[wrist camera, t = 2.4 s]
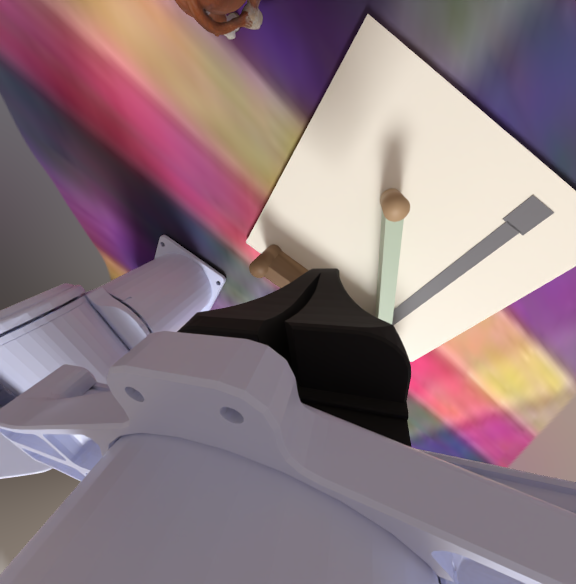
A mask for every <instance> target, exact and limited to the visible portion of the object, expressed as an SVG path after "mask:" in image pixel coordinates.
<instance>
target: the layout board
mask: <svg viewBox="0 0 576 584" xmlns="http://www.w3.org/2000/svg"><path fill="white" fill-rule="evenodd" d="M390 188H395V189H397V190H399V191H400V192H401V193H402V195H403V196H404V197H405V198H406V199H407V200H408V201H409V203H410V211H409V213H408V215H407V216H406V217H405V218H404V222H403V231H402V240H401V249H400V258H399V267H398V276H397V285H396V294H395V303H394V312H393V321H392V325H393V326H394V327H395V329H396V331H397V333H398V334H399V336H400V338H401V340H402V343H403V345H404V347H405V350H406V352H407V355H408V358H409V361H411V362H413V361H414V360H416V359H418V358H420V357H421V356H423V355H425V354H426V353H428V352H430V351H432V350H433V349H435V348H437V347H438V346H440V345H442V344H443V343H445V342H447V341H449V340H450V339H452V338H454V337H455V336H457V335H459V334H461V333H462V332H464V331H466V330H467V329H469V328H471V327H473V326H474V325H476V324H478V323H479V322H481V321H483V320H484V319H486V318H488V317H490V316H491V315H493V314H495V313H496V312H498V311H500V310H502V309H503V308H505V307H507V306H508V305H510V304H512V303H514V302H515V301H517V300H519V299H520V298H522V297H524V296H525V295H527V294H529V293H531V292H532V291H534V290H536V289H537V288H539V287H541V286H543V285H544V284H546V283H548V282H549V281H551V280H553V279H554V278H556V277H558V276H560V275H561V274H563V273H565V272H566V271H568V270H570V269H572V268H573V267H575V266H576V191H575V190H574V189H573V188H572V187H571V186H569V185H568V184H567V183H566V182H565V181H564V180H562V179H561V178H560V177H559V176H558V175H557V174H555V173H554V172H553V171H552V170H551V169H549V168H548V167H547V166H546V165H545V164H544V163H542V162H541V161H540V160H539V159H538V158H537V157H535V156H534V155H533V154H532V153H531V152H530V151H528V150H527V149H526V148H525V147H524V146H523V145H521V144H520V143H519V142H518V141H517V140H515V139H514V138H513V137H512V136H511V135H510V134H508V133H507V132H506V131H505V130H504V129H503V128H501V127H500V126H499V125H498V124H497V123H496V122H494V121H493V120H492V119H491V118H490V117H489V116H487V115H486V114H485V113H484V112H483V111H481V110H480V109H479V108H478V107H477V106H476V105H474V104H473V103H472V102H471V101H470V100H469V99H467V98H466V97H465V96H464V95H463V94H462V93H460V92H459V91H458V90H457V89H456V88H455V87H453V86H452V85H451V84H450V83H449V82H448V81H446V80H445V79H444V78H443V77H442V76H440V75H439V74H438V73H437V72H436V71H435V70H433V69H432V68H431V67H430V66H429V65H428V64H426V63H425V62H424V61H423V60H422V59H421V58H419V57H418V56H417V55H416V54H415V53H414V52H412V51H411V50H410V49H409V48H408V47H406V46H405V45H404V44H403V43H402V42H401V41H399V40H398V39H397V38H396V37H395V36H394V35H392V34H391V33H390V32H389V31H388V30H387V29H385V28H384V27H383V26H382V25H381V24H380V23H378V22H377V21H376V20H375V19H374V18H372V17H371V16H370V15H369V14H367V16H366V18H365V20H364V22H363V24H362V25H361V27H360V29H359V31H358V33H357V35H356V37H355V39H354V40H353V42H352V44H351V46H350V48H349V50H348V52H347V54H346V55H345V57H344V59H343V61H342V63H341V65H340V67H339V69H338V70H337V72H336V74H335V76H334V78H333V80H332V82H331V84H330V85H329V87H328V89H327V91H326V93H325V95H324V97H323V98H322V100H321V102H320V104H319V106H318V108H317V110H316V112H315V113H314V115H313V117H312V119H311V121H310V123H309V125H308V127H307V128H306V130H305V132H304V134H303V136H302V138H301V140H300V142H299V143H298V145H297V147H296V149H295V151H294V153H293V155H292V157H291V158H290V160H289V162H288V164H287V166H286V168H285V170H284V172H283V173H282V175H281V177H280V179H279V181H278V183H277V185H276V187H275V188H274V190H273V192H272V194H271V196H270V198H269V200H268V202H267V203H266V205H265V207H264V209H263V211H262V213H261V215H260V217H259V218H258V220H257V222H256V224H255V226H254V228H253V230H252V231H251V233H250V235H249V237H248V239H247V241H246V243H247V244H248V245H250V246H251V247H253V248H254V249H255V250H257V251H258V252H259V253H262V252H263V251H264V250H265V249H267V248H268V247H269V246H270V245H272V244H275V245H278V246H279V247H280V248H281V250H282V251H283V252H284V253H285V254H287V255H288V256H290V257H291V258H292V259H294V260H295V261H296V262H298V263H299V264H301V265H302V266H303V267H305V268H306V269H307V270H311V269H316V268H337V269H338V270H339V276H340V280H341V282H342V284H343V286H344V288H345V290H346V291H347V293H348V294H349V296H350V297H351V298H352V299H353V300H354V302H355V303H356V304H357V305H359V306H360V307H361V308H362V309H364V310H365V311H366V312H368V313H370V314H371V315H373V316H375V310H376V295H377V280H378V265H379V249H380V234H381V219H382V208H381V205H380V197H381V195H382V193H383V192H384V191H385V190H387V189H390Z"/></svg>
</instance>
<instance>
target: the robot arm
mask: <svg viewBox="0 0 576 584" xmlns="http://www.w3.org/2000/svg"><path fill="white" fill-rule="evenodd" d="M163 243H164V244H165V245H164V244H163ZM218 281H219V282H220V283H219V282H218ZM225 281H226V278H225V277H224V276H223V275H222V274H221V273H219V272H218V271H216V270H215V269H213V268H212V267H211V266H209V265H208V264H206V263H205V262H204V261H202V260H201V259H199V258H198V257H196V256H195V255H194V254H192V253H191V252H189V251H188V250H186V249H185V248H184V247H182V246H181V245H179V244H178V243H176V242H175V241H174V240H172V239H171V238H169V237H168V236H166V235H162V236H160V238H159V242H158V246H157V250H156V254H155V258H154V260H152V261H150V262H148V263H146V264H144V265H142V266H140V267H138V268H136V269H134V270H132V271H130V272H128V273H126V274H124V275H122V276H120V277H118V278H116V279H114V280H112V281H110V282H108V283H106V284H104V285H102V286H100V287H98V288H96V289H94V290H91V291H88V292H85V290H84V289H83V288H82V286H80V285H75V286H74V285H72V284H67V283H64V284H62V285H59V286H57V287H55V288H52V289H50V290H48V291H45V292H43V293H41V294H38V295H36V296H33V297H31V298H29V299H26V300H24V301H22V302H19V303H17V304H15V305H12V306H10V307H8V308H5V309H3V310H1V311H0V479H2V478H9V477H17V476H24V475H30V474H36V473H41V472H45V471H48V470H50V469H52V468H54V469H56V470H58V471H60V472H62V473H65V474H67V475H69V476H71V477H73V478H75V479H77V480H79V481H81V482H80V483H79V485H78V486H77V487H76V488H75V489H74V490H73V491H72V493H71V494H70V495H69V496H68V497H67V498H66V499H65V501H64V502H63V503H62V504H61V505H60V506H59V508H58V509H57V510H56V511H55V512H54V513H53V514H52V516H51V517H50V518H49V519H48V520H47V521H46V523H45V524H44V525H43V526H42V527H41V528H40V529H39V531H38V532H37V533H36V534H35V535H34V536H33V537H32V539H31V540H30V541H29V542H28V543H27V545H26V546H25V547H24V548H23V549H22V550H21V551H20V552H19V554H18V555H17V556H16V557H15V558H14V559H13V560H12V562H11V563H10V564H9V565H8V566H7V567H6V569H5V570H4V571H3V572H2V573H1V574H0V584H576V482H572V481H567V480H562V479H558V478H553V477H548V476H544V475H538V474H534V473H529V472H524V471H520V470H515V469H510V468H505V467H500V466H496V465H491V464H486V463H481V462H477V461H472V460H467V459H462V458H457V457H453V456H448V455H443V454H438V453H433V452H429V451H424V450H419V449H414V448H412V447H411V442H410V436H409V429H408V423H407V420H408V408H407V402H406V400H407V395H408V389H409V384H410V379H411V365H410V361H409V358H408V355H407V352H406V350H405V347H404V345H403V343H402V340H401V338H400V336H399V334H398V333H397V331H396V329H395V327H394V326H393V325H392V324H390V323H388V322H386V321H383V320H381V319H379V318H377V317H375V316H373V315H371V314H370V313H368V312H366V311H365V310H364V309H362V308H361V307H360V306H359V305H357V304H356V303H355V302H354V300H353V299H352V298H351V297H350V296H349V294H348V293H347V291H346V290H345V288H344V286H343V284H342V282H341V280H340V276H339V270H338V269H337V268H316V269H311V270H309V271H307V272H306V273H304V274H303V275H301V276H300V277H298V278H297V279H295V280H294V281H292V282H291V283H289V284H287V285H286V286H284V287H282V288H280V289H279V290H277V291H275V292H273V293H270V294H268V295H266V296H263V297H261V298H258V299H255V300H252V301H249V302H246V303H243V304H239V305H236V306H231V307H227V308H222V309H216V310H210V309H211V307H212V306H213V304H214V302H215V300H216V298H217V296H218V294H219V293H220V291H221V289H222V287H223V285H224V283H225ZM84 292H85V293H84Z"/></svg>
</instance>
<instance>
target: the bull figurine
mask: <svg viewBox="0 0 576 584" xmlns="http://www.w3.org/2000/svg"><path fill="white" fill-rule="evenodd" d="M175 1H176V3H177V4H178V5H179V7H180V8H181V9H182V10H183V11H184V12H185V13H186V14H188V15H190V16H191V17H194V18H195V20H196V21H197V22H198V23H199V24H200V25H201V26H202V27H203V28H204V29H206V30H207V31H208V32H210V33H213V34H215V36H219V35H225V36H227V38H228V39H234V38H235V32H237V31H238V30H239V29H240V27H245V28H248V29H254V30H255V29H259V28H260V25H261V24H262V20H263V16H262V13H261V12H260V10H259V9H258V6H259V3H260V1H261V0H247V4H246V5H245V6H244V8H243V10H242V13H241V14H240V16H239V15H238V14H237V13H235V12H234V11H236V10H237V9H239V8H240V7H241V6H242V5H243V4H244V3H245V1H246V0H175ZM231 12H234V13H231ZM228 13H230V14H229V15H228V16H227V15H226V14H228Z"/></svg>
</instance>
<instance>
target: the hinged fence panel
mask: <svg viewBox="0 0 576 584" xmlns="http://www.w3.org/2000/svg"><path fill="white" fill-rule="evenodd" d="M380 205H381V208H382V219H381V234H380V249H379V265H378V280H377V295H376V310H375V317H377V318H379V319H381V320H383V321H386V322H388V323H390V324H392V321H393V312H394V303H395V294H396V285H397V276H398V267H399V258H400V249H401V240H402V231H403V222H404V218H405V217H406V216H407V215H408V213H409V211H410V203H409V201H408V200H407V199H406V198H405V197H404V196H403V195H402V193H401V192H400V191H399V190H397V189H395V188H390V189H387V190H385V191H384V192H383V193H382V195H381V197H380Z"/></svg>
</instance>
